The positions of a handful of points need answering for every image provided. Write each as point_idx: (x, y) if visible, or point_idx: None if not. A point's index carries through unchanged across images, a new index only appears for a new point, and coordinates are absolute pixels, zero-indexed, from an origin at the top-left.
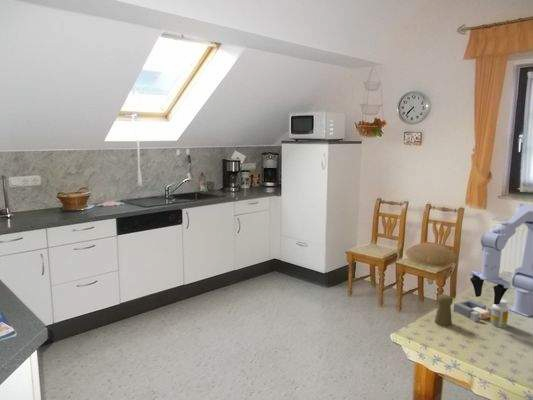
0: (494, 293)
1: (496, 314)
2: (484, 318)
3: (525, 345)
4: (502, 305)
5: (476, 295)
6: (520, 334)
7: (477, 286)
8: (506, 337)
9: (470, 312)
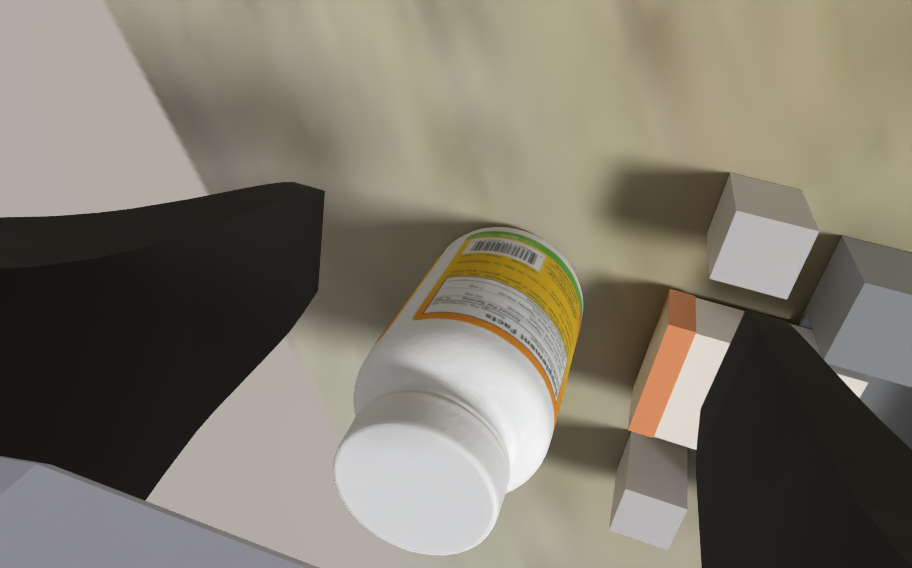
0: (137, 246)
1: (466, 290)
2: (660, 314)
3: (140, 26)
4: (373, 400)
5: (765, 324)
6: None
7: (796, 507)
8: (314, 49)
9: (842, 290)
